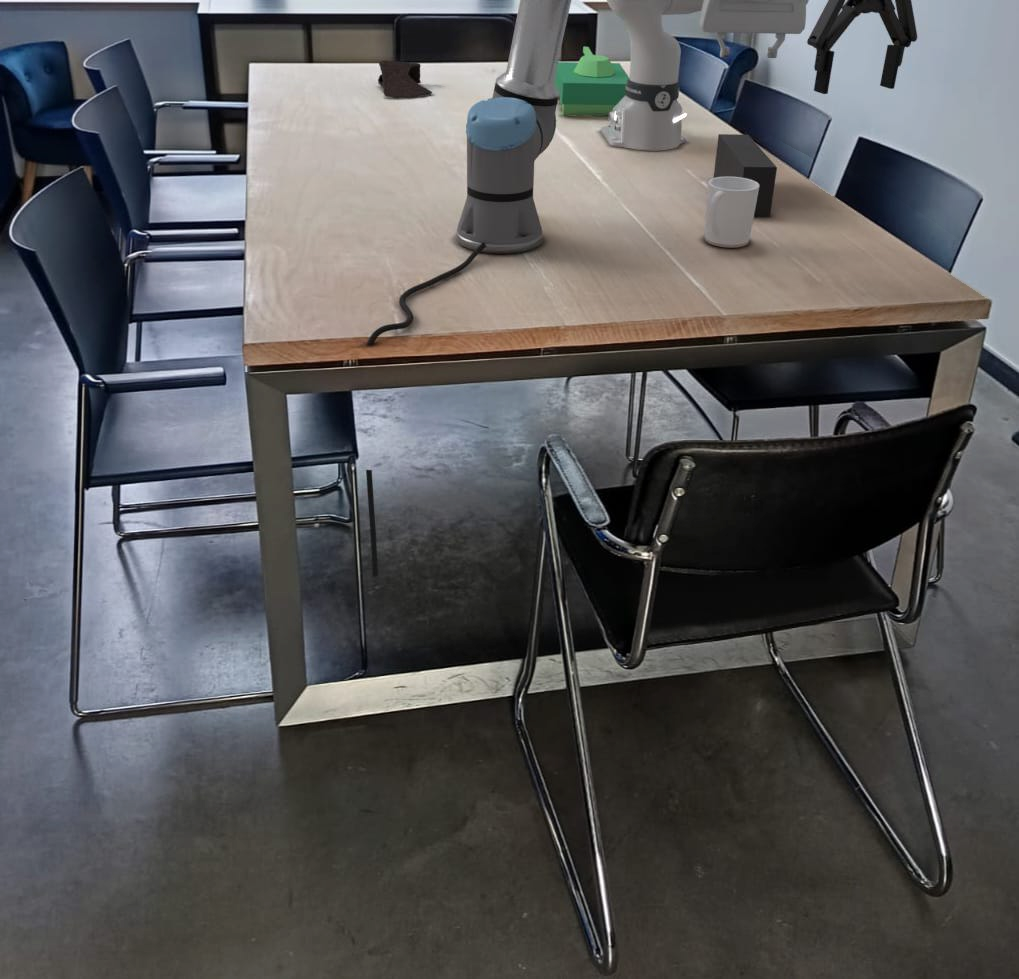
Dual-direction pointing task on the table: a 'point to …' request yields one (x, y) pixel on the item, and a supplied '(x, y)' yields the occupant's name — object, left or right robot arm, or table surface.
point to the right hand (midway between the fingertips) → (747, 57)
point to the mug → (730, 211)
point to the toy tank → (590, 85)
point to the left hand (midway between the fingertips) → (854, 89)
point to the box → (747, 167)
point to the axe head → (401, 79)
